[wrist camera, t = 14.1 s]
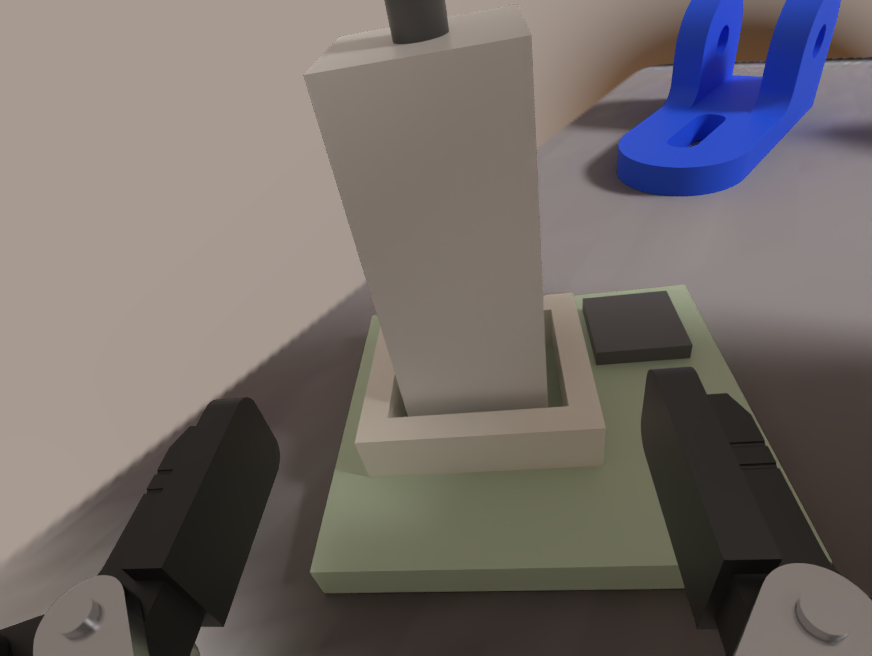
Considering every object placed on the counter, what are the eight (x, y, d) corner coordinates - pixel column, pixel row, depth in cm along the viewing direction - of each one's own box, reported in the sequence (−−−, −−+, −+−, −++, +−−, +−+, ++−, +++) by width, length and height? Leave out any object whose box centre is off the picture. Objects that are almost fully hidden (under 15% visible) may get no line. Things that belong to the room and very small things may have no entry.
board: (680, 310, 25) (690, 247, 23) (816, 586, 15) (857, 523, 13) (379, 337, 27) (362, 283, 25) (324, 593, 17) (287, 540, 15)
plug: (537, 344, 23) (506, -168, 12) (549, 432, 19) (520, -194, 9) (424, 354, 23) (307, -121, 13) (415, 440, 20) (241, -127, 9)
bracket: (702, 99, 45) (720, -22, 40) (811, 107, 40) (850, -30, 35) (594, 184, 37) (598, 44, 31) (717, 208, 32) (749, 46, 26)
